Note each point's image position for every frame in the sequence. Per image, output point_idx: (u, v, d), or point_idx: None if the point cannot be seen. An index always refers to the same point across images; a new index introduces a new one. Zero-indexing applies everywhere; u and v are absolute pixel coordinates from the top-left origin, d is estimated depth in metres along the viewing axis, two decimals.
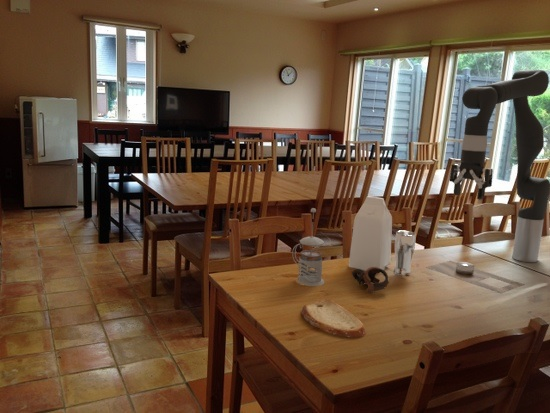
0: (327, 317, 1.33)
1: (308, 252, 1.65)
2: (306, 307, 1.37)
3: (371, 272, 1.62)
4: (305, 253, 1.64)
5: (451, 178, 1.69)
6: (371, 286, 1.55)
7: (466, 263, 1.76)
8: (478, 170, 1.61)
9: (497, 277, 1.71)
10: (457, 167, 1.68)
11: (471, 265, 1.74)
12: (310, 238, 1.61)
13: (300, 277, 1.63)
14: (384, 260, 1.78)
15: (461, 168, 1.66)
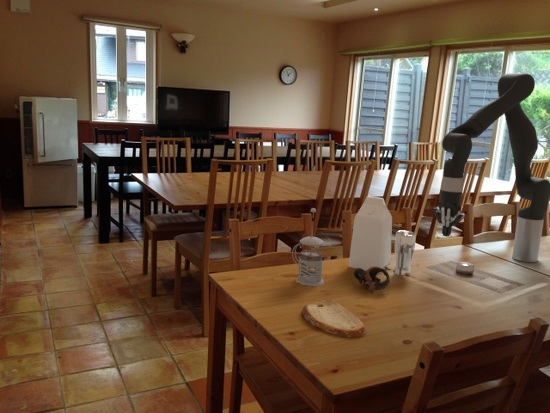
0: (327, 317, 1.33)
1: (308, 252, 1.65)
2: (307, 307, 1.37)
3: (372, 271, 1.63)
4: (305, 253, 1.64)
5: (439, 220, 1.81)
6: (372, 285, 1.55)
7: (466, 263, 1.76)
8: (455, 209, 1.75)
9: (497, 277, 1.71)
10: (437, 208, 1.81)
11: (471, 265, 1.74)
12: (310, 238, 1.61)
13: (300, 277, 1.63)
14: (384, 260, 1.78)
15: (440, 206, 1.80)
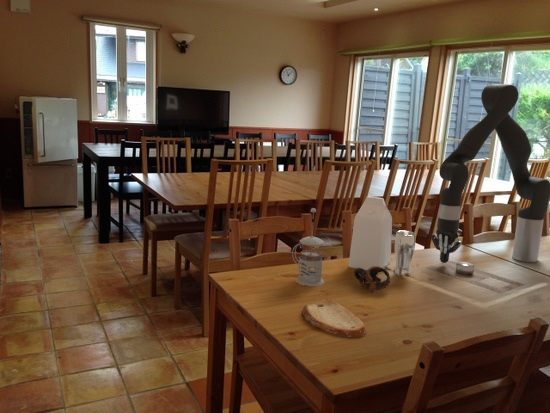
0: (328, 317, 1.33)
1: (308, 252, 1.65)
2: (307, 307, 1.37)
3: (372, 271, 1.63)
4: (305, 253, 1.64)
5: (436, 246, 1.83)
6: (373, 285, 1.56)
7: (466, 263, 1.76)
8: (452, 237, 1.77)
9: (497, 277, 1.71)
10: (435, 235, 1.83)
11: (471, 265, 1.74)
12: (310, 238, 1.61)
13: (300, 277, 1.63)
14: (384, 260, 1.78)
15: (438, 233, 1.82)
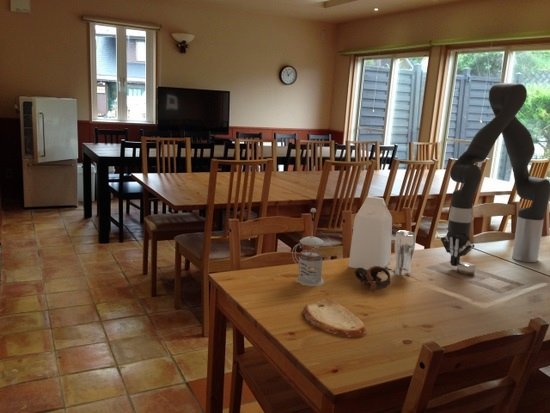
0: (328, 316, 1.33)
1: (308, 252, 1.65)
2: (307, 307, 1.37)
3: (373, 271, 1.63)
4: (305, 253, 1.64)
5: (447, 249, 1.79)
6: (374, 285, 1.56)
7: (467, 263, 1.76)
8: (463, 240, 1.73)
9: (497, 277, 1.71)
10: (446, 238, 1.80)
11: (472, 265, 1.74)
12: (310, 238, 1.61)
13: (300, 277, 1.63)
14: (384, 260, 1.78)
15: (448, 236, 1.78)
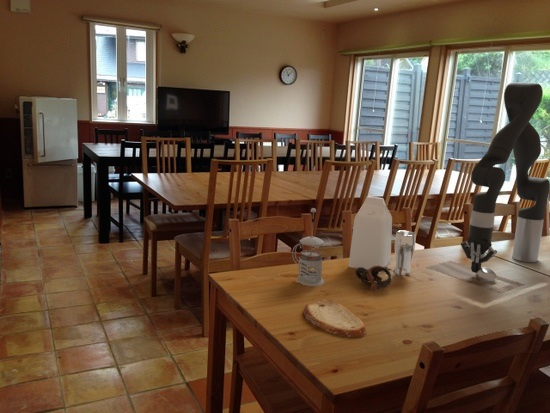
0: (328, 316, 1.34)
1: (308, 252, 1.65)
2: (308, 306, 1.38)
3: (374, 271, 1.64)
4: (305, 253, 1.64)
5: (468, 255, 1.72)
6: (374, 284, 1.56)
7: (489, 271, 1.69)
8: (485, 245, 1.66)
9: (497, 277, 1.71)
10: (466, 243, 1.73)
11: (493, 275, 1.67)
12: (310, 238, 1.61)
13: (300, 277, 1.63)
14: (384, 260, 1.78)
15: (469, 241, 1.71)
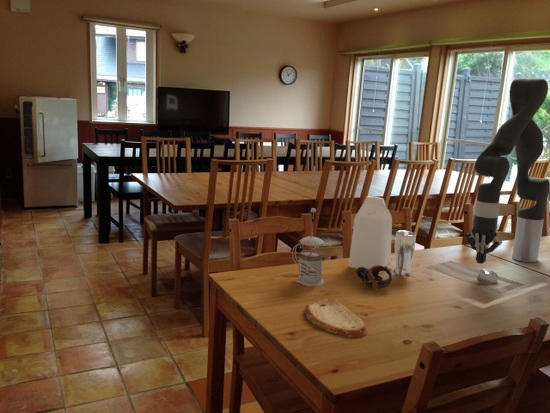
0: (329, 316, 1.34)
1: (308, 252, 1.65)
2: (308, 306, 1.38)
3: (374, 270, 1.64)
4: (305, 253, 1.64)
5: (472, 246, 1.71)
6: (375, 284, 1.57)
7: (490, 272, 1.68)
8: (490, 236, 1.65)
9: None
10: (471, 234, 1.72)
11: (495, 276, 1.67)
12: (310, 238, 1.61)
13: (300, 277, 1.63)
14: (384, 260, 1.78)
15: (474, 232, 1.70)
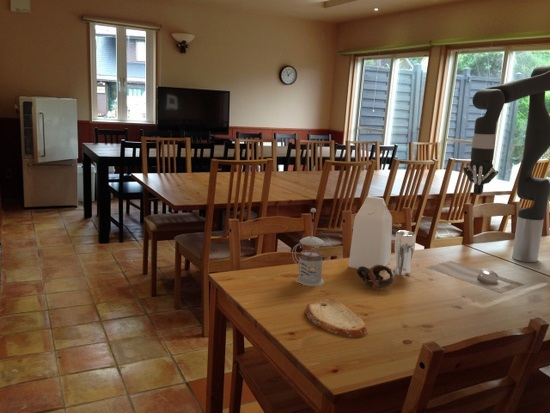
0: (329, 316, 1.34)
1: (308, 252, 1.65)
2: (309, 306, 1.38)
3: (375, 270, 1.65)
4: (305, 253, 1.64)
5: (470, 178, 1.79)
6: (376, 283, 1.57)
7: (490, 272, 1.68)
8: (487, 166, 1.73)
9: None
10: (468, 167, 1.80)
11: (495, 276, 1.67)
12: (310, 238, 1.61)
13: (300, 277, 1.63)
14: (384, 260, 1.78)
15: (471, 164, 1.78)
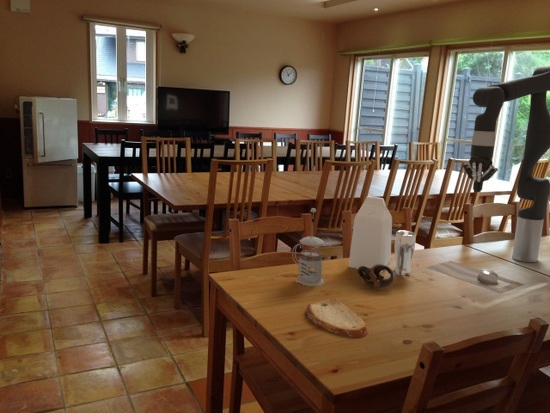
0: (330, 316, 1.34)
1: (308, 252, 1.65)
2: (310, 306, 1.38)
3: (376, 269, 1.65)
4: (305, 253, 1.64)
5: (470, 175, 1.80)
6: (377, 283, 1.58)
7: (490, 272, 1.68)
8: (487, 163, 1.74)
9: None
10: (468, 164, 1.81)
11: (495, 276, 1.67)
12: (310, 238, 1.61)
13: (300, 277, 1.63)
14: (384, 260, 1.78)
15: (471, 162, 1.79)
